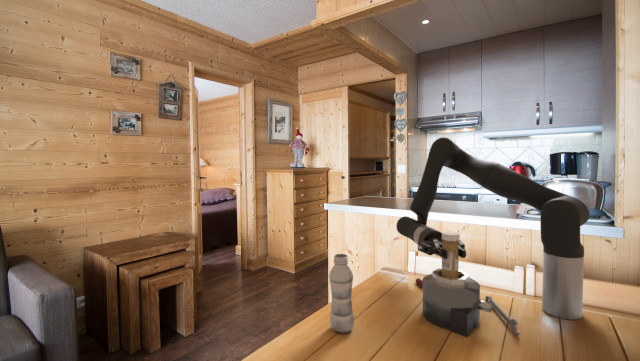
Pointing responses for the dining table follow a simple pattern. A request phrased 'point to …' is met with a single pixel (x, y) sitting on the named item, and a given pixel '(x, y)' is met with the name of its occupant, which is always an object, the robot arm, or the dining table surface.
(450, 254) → the spice jar
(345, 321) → the plastic bottle
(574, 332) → the dining table surface
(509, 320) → the combination wrench
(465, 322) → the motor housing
